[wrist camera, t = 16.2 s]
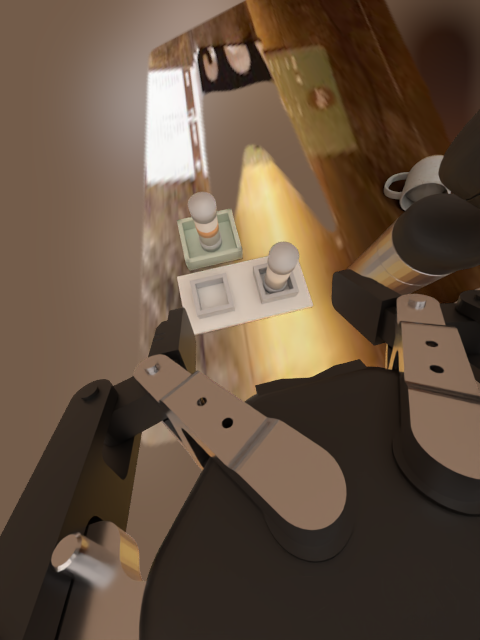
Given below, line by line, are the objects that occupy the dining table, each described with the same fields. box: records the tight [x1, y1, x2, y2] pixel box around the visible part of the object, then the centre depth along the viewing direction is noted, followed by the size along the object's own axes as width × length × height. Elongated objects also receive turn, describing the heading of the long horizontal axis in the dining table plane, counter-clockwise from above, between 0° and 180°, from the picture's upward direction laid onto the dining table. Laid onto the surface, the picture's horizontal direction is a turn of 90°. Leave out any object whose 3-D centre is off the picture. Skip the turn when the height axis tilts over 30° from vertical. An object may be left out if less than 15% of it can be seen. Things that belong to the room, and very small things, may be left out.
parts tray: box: [177, 209, 243, 271], centre depth 46 cm, size 11×10×3 cm
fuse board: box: [177, 256, 313, 335], centre depth 43 cm, size 24×12×4 cm, turn 104°
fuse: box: [263, 242, 299, 294], centre depth 39 cm, size 4×4×11 cm
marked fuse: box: [188, 192, 222, 252], centre depth 41 cm, size 4×4×11 cm
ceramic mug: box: [384, 155, 450, 211], centre depth 46 cm, size 11×8×8 cm
